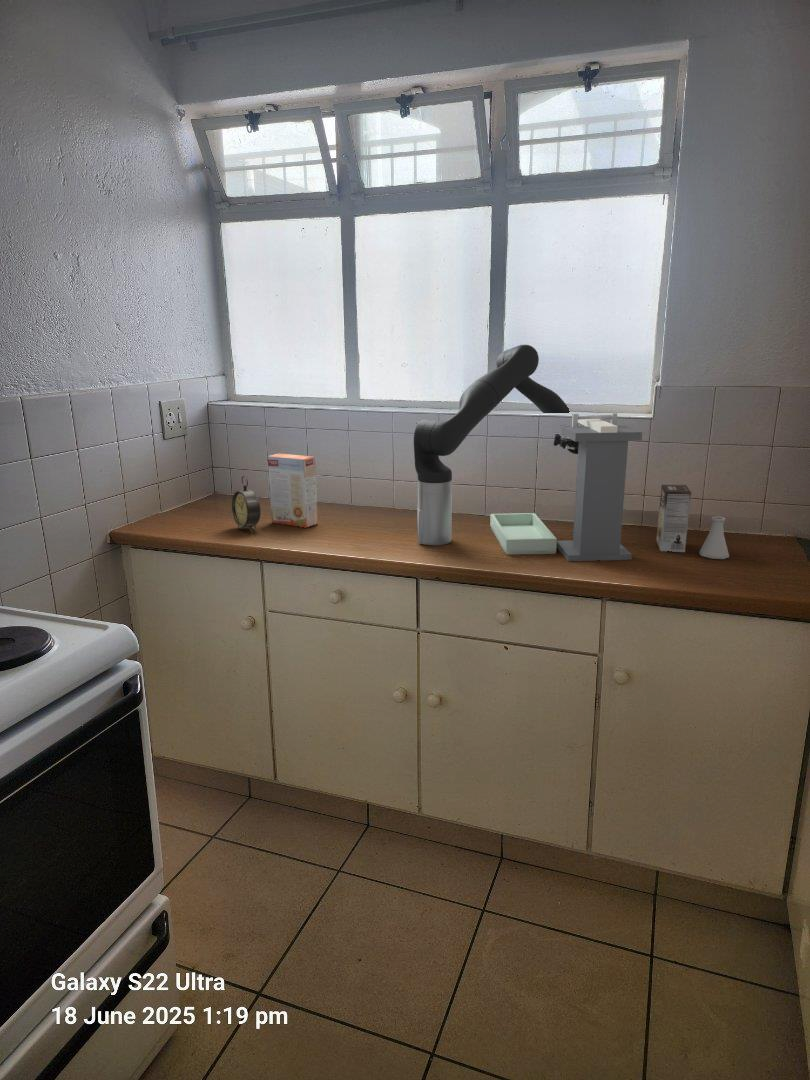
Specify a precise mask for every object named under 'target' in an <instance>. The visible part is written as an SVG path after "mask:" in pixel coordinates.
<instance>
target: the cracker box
mask: <svg viewBox="0 0 810 1080" xmlns="http://www.w3.org/2000/svg"><path fill="white" fill-rule="evenodd" d="M267 464H268V465H267V466H268V483H269V496H270V497H269V499H270V510H271V511H270V513H271V523H273V522H276V523H275V524H279V523H281V524H280V525H285V524H287V526H291V525H293V527H297V526H299V528H303V527H304V529H307V527H308V528H310V526H311V527H314V526H317V525H318V524H319V515H318V498H317V497H318V494H317V492H318V491H317V471H316V457H315V456H309V455H299V454H291V453H290V454H288V453H274V454H270V455H268V456H267ZM316 524H317V525H316ZM313 525H314V526H313Z"/></svg>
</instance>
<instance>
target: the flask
mask: <svg viewBox="0 0 810 1080" xmlns="http://www.w3.org/2000/svg"><path fill="white" fill-rule="evenodd" d="M711 521H712V522H711V528H710V529H709V530H710V531H709V532H708V535H707V536H706V538H705V540H704V542H703V545H702V546H701V548H700V549H699V552H698V554H699V555H700V556H701V557H704V558H708V559H712V560H725V559H727V558H728V559H729V558H730V553H729V551H728V546H727V542H726V537H725V533H724V522H725V521H726V518H725V517H723V516H717V515H716V516H711Z"/></svg>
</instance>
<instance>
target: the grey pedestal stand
mask: <svg viewBox="0 0 810 1080" xmlns="http://www.w3.org/2000/svg"><path fill="white" fill-rule="evenodd" d="M578 419H600V420H610V423H611V424H613V425H616V426H618V430H617V433H600V432H598V431H595V430H593V429H591V428H589V427H586V426H578ZM617 422H618V413H616V412H611V413H610V414H584V415H582V414H581V415H579V414H578V413H576V414H572V426H565V425H564V426H563V425H561V428H562V435H564V436H566V437H568V438H569V439H571V440H573V441H575V442H579V446H578V454H577V467H576V483H575V496H574V497H575V498H574V513H573V515H574V516H573V531H572V532H573V533H572V534H573V535H572V540H571V539H570V540H557V544H556V549H558V551H559V552H560V553H561V554H562V556H563V557H564V559H566V560H567V562H592V561H593V562H594V561H597V560H600V561H632V558H633V554H632V553H631V552H630V551H629V550H628V549H627V548H626V547H624V546H623V545H622V544H621V541H622V540H621V537H622V527H623V526H622V525H623V512H624V499H625V488H626V487H625V486H626V478H627V477H626V476H627V463H628V462H627V461H628V449H629V442H631V441H632V442H633V441H634V442H635V441H639V442H640V441H642V438H643V431H640V430H637V429H635V428H632V427H629V426H627V425H623V424H622V425H618V424H617ZM628 559H629V560H628Z"/></svg>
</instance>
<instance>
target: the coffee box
mask: <svg viewBox="0 0 810 1080" xmlns="http://www.w3.org/2000/svg"><path fill="white" fill-rule="evenodd" d="M659 501H660V502H659V511H658V521H657V531H656V544H657V546H658V549H659V550H660V552H667V551H670V553H672V552H673V553H674V552H675V553H686V546H687V536H688V527H689V517H690V511H691V501H692V490H690V489H689V487H688V485H686V484H662V485H661V489H660V498H659ZM671 551H672V552H671Z"/></svg>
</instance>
